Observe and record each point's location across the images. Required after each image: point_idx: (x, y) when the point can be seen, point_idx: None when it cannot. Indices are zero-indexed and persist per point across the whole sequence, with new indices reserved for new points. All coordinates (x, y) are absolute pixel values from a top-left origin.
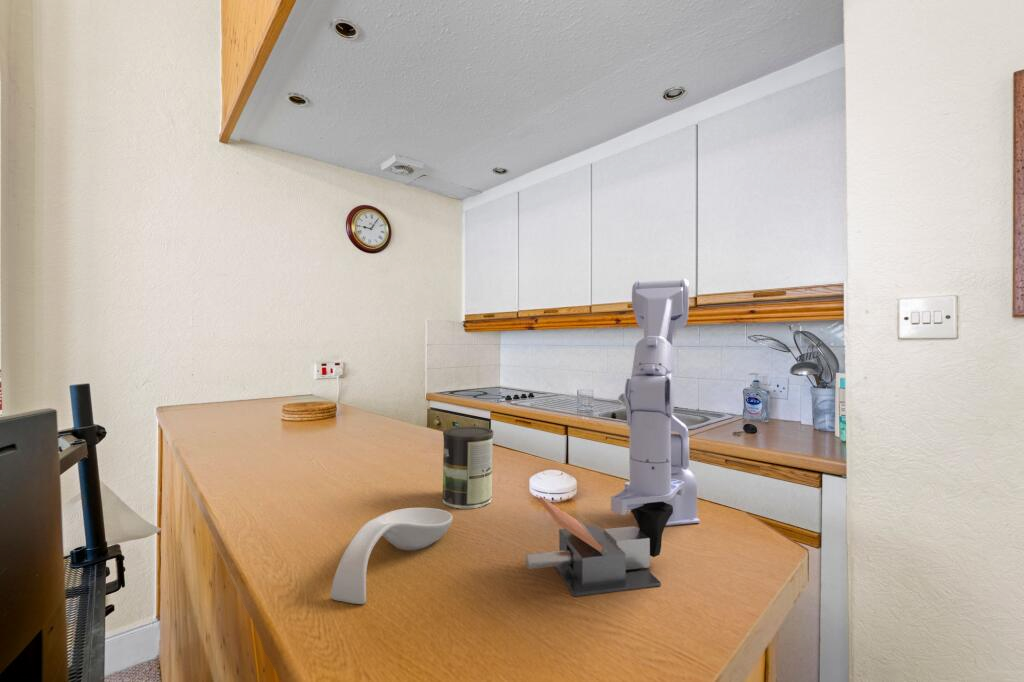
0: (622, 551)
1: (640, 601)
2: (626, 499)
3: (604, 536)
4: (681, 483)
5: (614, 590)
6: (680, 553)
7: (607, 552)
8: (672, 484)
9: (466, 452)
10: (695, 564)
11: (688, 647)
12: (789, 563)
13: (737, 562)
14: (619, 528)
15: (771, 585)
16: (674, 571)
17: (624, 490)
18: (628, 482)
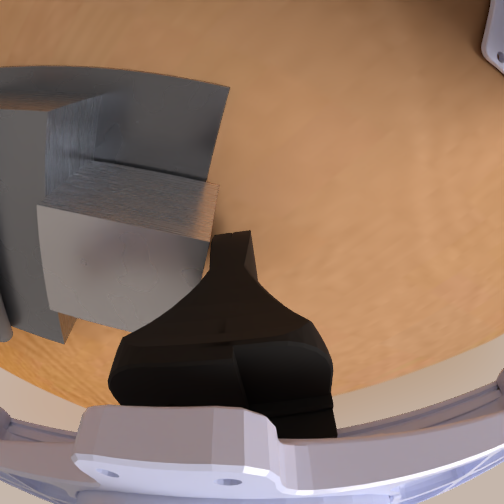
0: (59, 334)
1: (100, 330)
2: (19, 488)
3: (34, 231)
4: (497, 463)
5: None
6: (388, 226)
7: (11, 336)
8: (451, 484)
9: None
10: (358, 286)
11: (118, 402)
12: (485, 338)
13: (439, 312)
14: (109, 229)
15: (388, 375)
16: (271, 288)
17: (28, 474)
18: (143, 474)
